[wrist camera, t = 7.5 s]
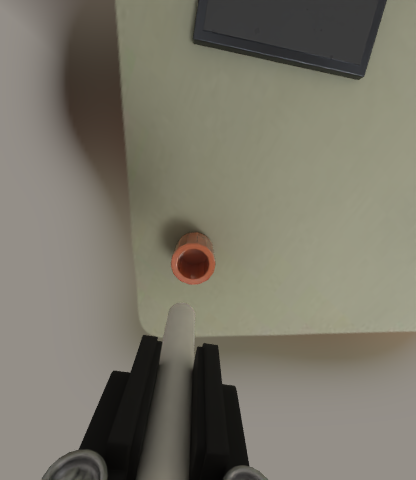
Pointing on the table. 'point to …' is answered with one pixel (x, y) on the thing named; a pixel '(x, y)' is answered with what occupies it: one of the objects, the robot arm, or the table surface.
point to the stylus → (171, 402)
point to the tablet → (294, 31)
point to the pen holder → (193, 258)
